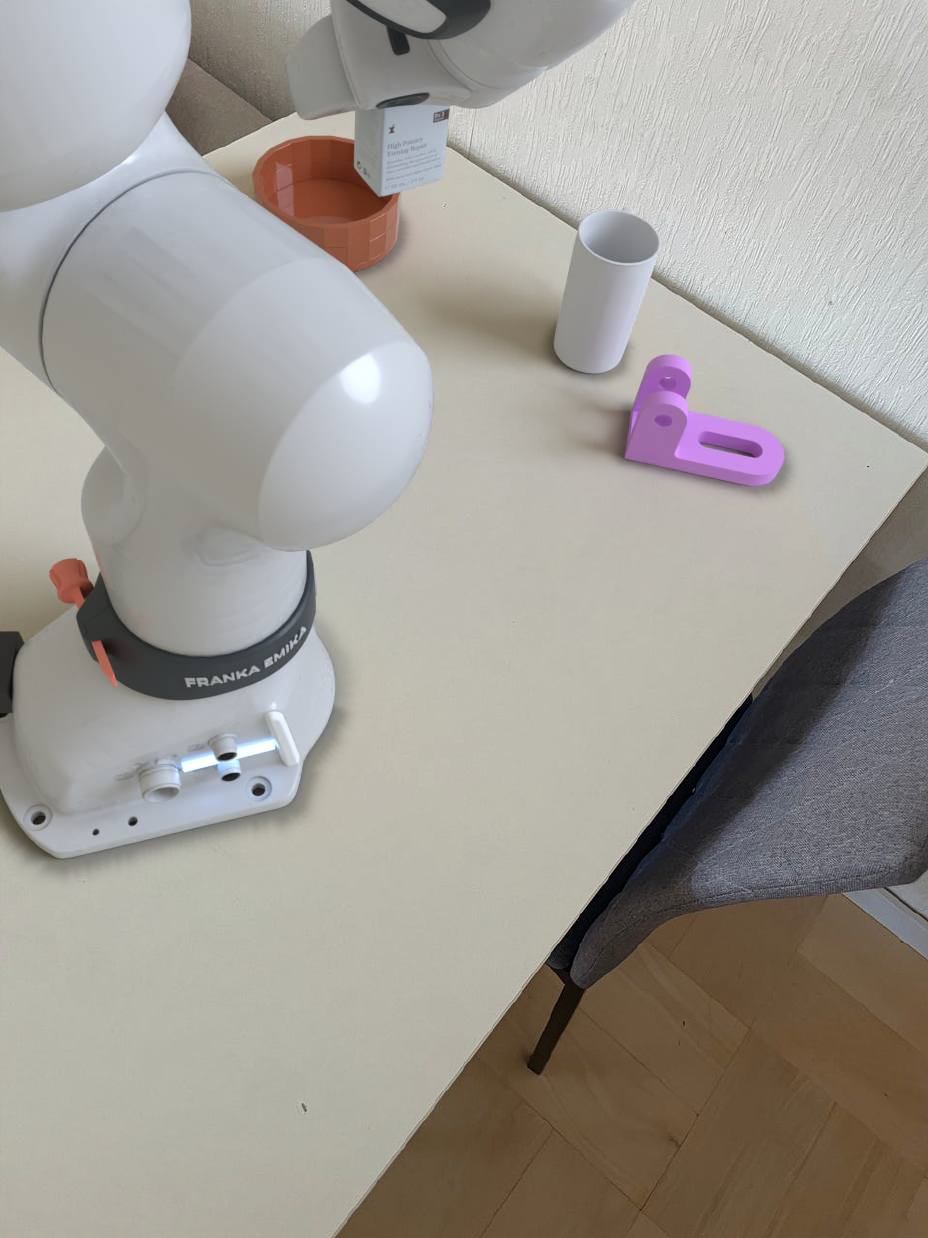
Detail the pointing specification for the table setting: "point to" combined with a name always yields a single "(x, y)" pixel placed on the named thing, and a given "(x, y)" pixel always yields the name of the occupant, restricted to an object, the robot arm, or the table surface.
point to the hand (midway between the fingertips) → (398, 88)
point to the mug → (604, 288)
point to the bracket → (694, 431)
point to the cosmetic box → (400, 146)
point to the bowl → (327, 199)
